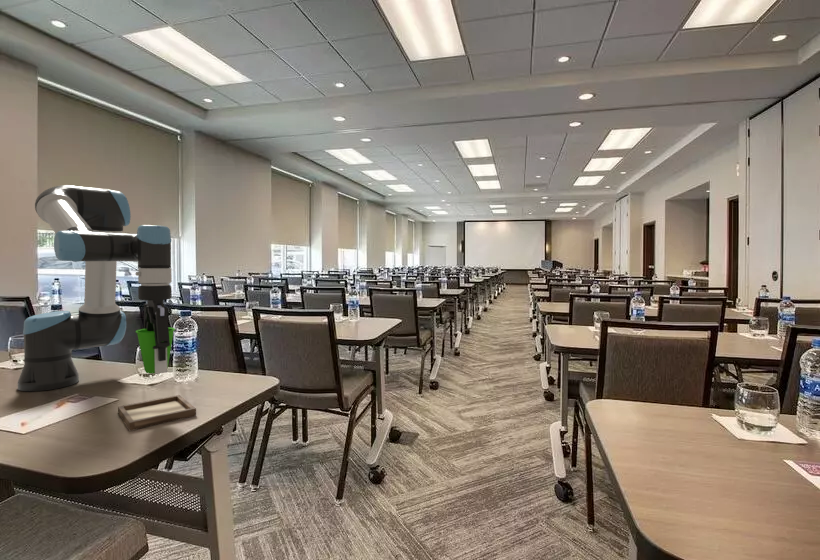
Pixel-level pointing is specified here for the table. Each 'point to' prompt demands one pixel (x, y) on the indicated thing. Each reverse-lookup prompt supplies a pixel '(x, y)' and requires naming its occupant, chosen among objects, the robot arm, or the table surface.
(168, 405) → the tray
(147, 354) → the cup
